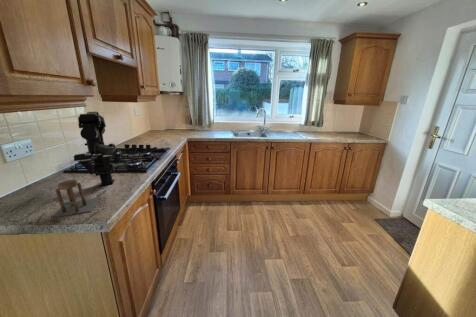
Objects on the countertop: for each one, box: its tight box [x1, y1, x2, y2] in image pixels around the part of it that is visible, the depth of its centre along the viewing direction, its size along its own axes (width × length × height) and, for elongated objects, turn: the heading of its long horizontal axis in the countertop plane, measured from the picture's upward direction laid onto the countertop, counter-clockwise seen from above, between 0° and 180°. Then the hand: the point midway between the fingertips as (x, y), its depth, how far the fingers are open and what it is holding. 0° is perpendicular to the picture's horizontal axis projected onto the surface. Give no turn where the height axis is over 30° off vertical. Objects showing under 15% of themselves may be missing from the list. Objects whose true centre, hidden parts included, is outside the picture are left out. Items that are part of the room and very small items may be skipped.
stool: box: [55, 179, 87, 213], centre depth 89 cm, size 6×6×12 cm
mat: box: [52, 197, 100, 218], centre depth 93 cm, size 12×14×1 cm
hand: (100, 172), depth 99 cm, fingers open, 9 cm apart
